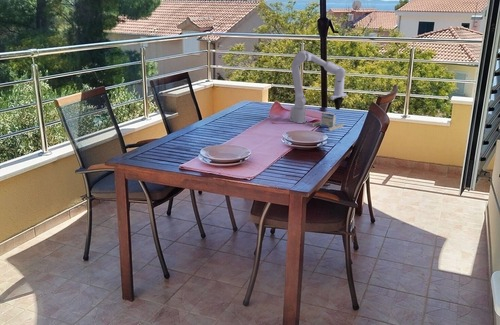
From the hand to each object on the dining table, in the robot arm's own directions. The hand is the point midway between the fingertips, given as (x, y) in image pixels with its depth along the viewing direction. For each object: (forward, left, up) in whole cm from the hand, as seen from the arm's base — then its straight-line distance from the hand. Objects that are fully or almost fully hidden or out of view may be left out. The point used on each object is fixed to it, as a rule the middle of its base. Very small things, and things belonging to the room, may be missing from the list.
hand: (337, 109), depth 305 cm
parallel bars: (0, -9, -9) cm, 13 cm away
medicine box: (0, -9, -10) cm, 13 cm away
